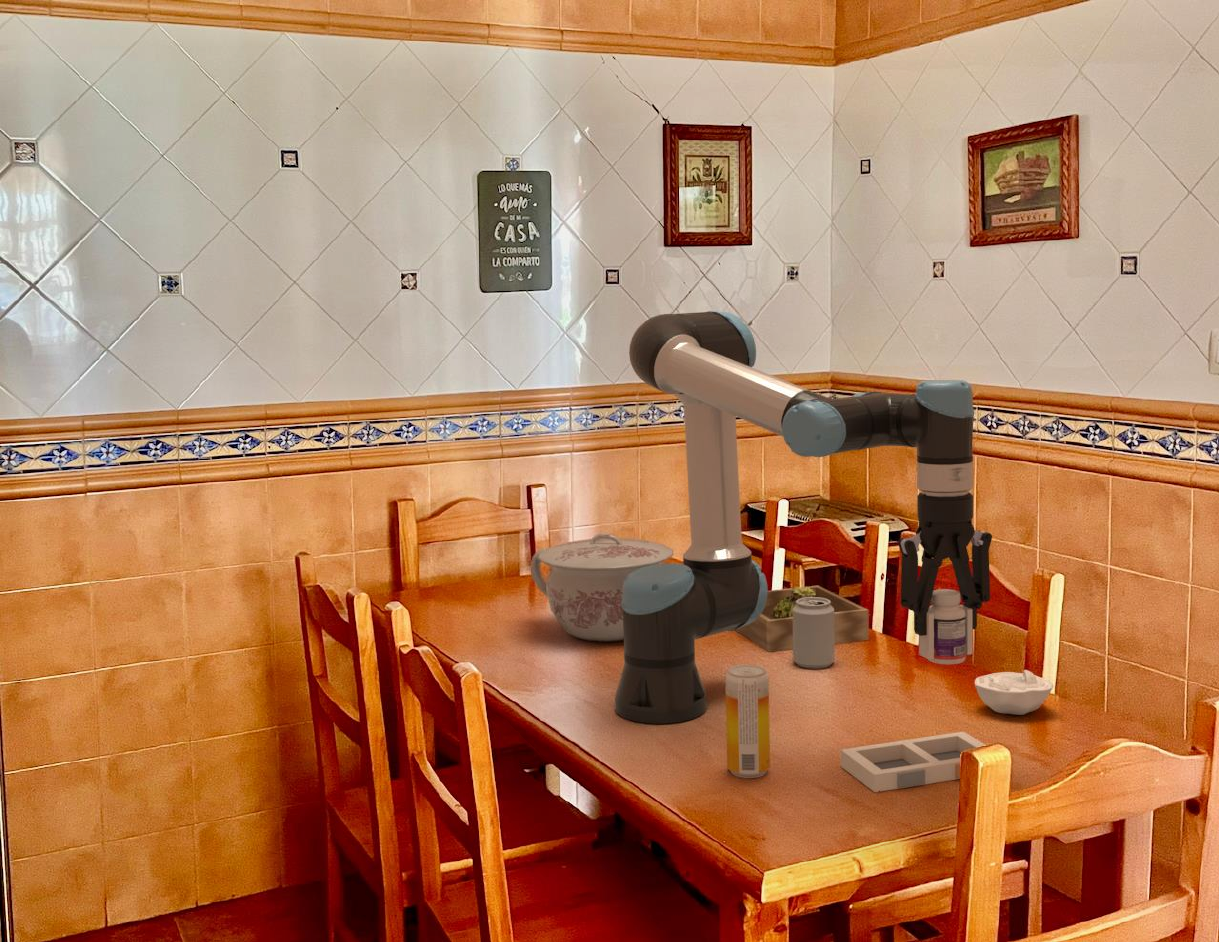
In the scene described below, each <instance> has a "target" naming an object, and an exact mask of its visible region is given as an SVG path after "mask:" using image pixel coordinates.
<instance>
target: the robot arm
mask: <svg viewBox="0 0 1219 942" xmlns="http://www.w3.org/2000/svg"><path fill="white" fill-rule="evenodd" d="M628 351H629V352H628V354H629V361H630V365H631V368H632V369H633V371H634V372H635V374H636V376H637V377H638V378H639V379H640V380H642V381H643V382H644V383H645V384H646V385H648V386H651V387H652V388H654V389H657V390H659V391H661V392H664V393H665V394H668V395H673V396H675V398H676V399H678V400H679V401H680V402H681V403H682V405H683V411H684V412H683V414H684V415H683V416H684V432H685V434H684V436H685V451H686V452H685V453H686V466H687V467H686V469H687V487H688V505H689V506H688V507H689V524H690V545H689V547H688V548H687V550H685V552H683V554H682V561H683V563H678V562H676V563H675V562H668V563H667V562H662V563H661V565H650V566H646V567H643V568H640V569H638V570H635V571H634V572H632V573H631V574H629V575H628V576H627V577H626V579H625V580H624V583H623V597H622V602H621V604H622V608H623V630H624V640H623V657H624V662H623V663H624V664H623V668H622V672H621V675H620V677H619V678H620V679H619V681H618V684H617V689H616V692H615V697H614V704H615V705H614V707H615V708H614V709H615V712H616V714H617V715H618V716H620V717H622V718H624V719H627V720H629V721H633V722H637V723H643V724H644V723H645V724H675V723H680V722H686V721H690V720H692V719H696V718H699V716H701V715H703V714H704V713H705V712H706V711H707V710H708V709H707V706H708V705H707V701H708V700H707V693H706V690H705V687H704V684H703V682H702V678H701V676H700V674H699V670H698V667H697V664H696V653H695V648H696V647H695V641H696V640H699V639H702V638H703V639H704V638H706V637H710V636H713V635H714V636H715V635H717V634H721V633H725V632H732V631H736V630H737V629H739V628H741V627H743V626H745V625H748V624H750V623H752V622H753V621H755V620H756V619H757V618H758V617H759V616H760V614H761V613H762V611H763V609H764V607H765V604H766V600H767V591H768V582H767V578H766V575H765V573H764V572H762V571H761V570H762V568H761V567H760V565H759V563H757V562H756V561H755V560H753V559H752V551H751V550H750V549H749V548H748V547H747V546H746V545H745V544H744V543H743V539H742V523H741V522H742V519H741V499H740V482H739V481H740V479H739V477H740V476H739V458H738V440H737V439H738V438H737V419H736V418H739V419H741V420H743V421H745V422H748V423H750V424H753V425H754V426H757V427H760V428H761V429H764V430H766V431H768V432H770V433H773V434H775V435H778V436H780V437H783V440H784V442H785V444H786V445H787V446H788V447H789V449H790V450H791V452H792V453H794V454H795V455H797V456H799V457H804V458H809V457H810V458H811V457H814V458H815V457H816V458H823V457H827V456H830V455H834V454H840V453H846V452H853V451H860V450H865V449H873V448H878V447H885V446H886V447H887V446H889V447H892V446H893V447H908V448H916V459H917V460H916V463H917V464H916V473H917V474H916V488H917V489H918V490H919V491H920V492H919V493H918V494H917V496H916V497H917V498H916V499H917V503H916V507H917V513H916V514H917V520H918V527H917V530H916V532H915V534H913V535H912V536H910V537H908V538H904V537H900V538H899V539H898V541H897V544H898V547H899V550H900V551H899V552H900V554H901V567H900V568H901V571H900V572H901V573H900V581H901V582H900V605H901V607H903V608H905V609H908V610H910V611H912V612H913V631H914V633H915V634H916V635H918V655H919V656H921V657H922V658H925V659H927V660H928V659H929V660H931V659H934V614H933V613H931V612H929V611H928V610H929V607H930V606H931V598H932V594H933V591H934V589H935V585H936V581H937V577H938V574H939V569H940V567H942V565H943V560H946V559H949V561H951V564H952V568H953V571H954V575H955V579H956V583H957V587H958V591H959V592H960V599H961V602H962V604H959V606H960V607H962V608H963V609H964V610H965V614H966V656H969V655H973V630H977V626H978V610H980V609H981V608H982V606H983V603H987V602H989V601H990V600H991V582H990V581H991V579H990V577H991V576H990V552H989V551H990V547H991V543H992V539H993V535H992V534H991V533H990V532H986V531H983V530H981V529H980V530H976V529H975V527H974V525H973V522H972V520H973V518H974V495H973V494H972V493H971V492H970V491H971V490H972V489H973V488H974V461H973V460H974V455H973V446H974V445H973V437H974V432H973V431H974V417H975V409H974V401H973V400H974V399H973V389H972V385H971V383H970V382H968V381H966V380H960V379H933V380H932V379H931V380H922V381H920V382H919V383H918V384H917V386H916V392H915V393H911V394H909V393H893V392H882V391H870V392H869V391H867V392H858V393H854V394H853V395H852V396H849V397H848V396H847V397H838V398H831V397H827V396H825V395H822V394H819V393H816V392H814V391H811V390H809V389H807V388H804V387H802V386H800V385H798V384H795V383H792V382H790V381H787V380H785V379H783V378H779V377H777V376H775V375H772V374H769V373H767V372H764V371H762V370H760V369H757V368H754V366H755V364H756V360H757V359H756V357H757V347H756V341H755V338H754V335H753V333H752V331H751V329H750V327H749V326H748V325H747V324H746V323H744V321H743V320H742V318H740V317H739V316H737V315H736V314H734V313H730V312H725V311H712V310H708V311H703V312H701V311H700V312H683V313H663V314H658V315H655V316H653V317H650V318H649V319H647V320H645V321H644V322H643V323H641V324H640V325H639V327H637V329H636V330H635V331H634V333H633V335H632V337H631V340H630V343H629V350H628ZM970 542H971V544H972V545H971V566H972V567H971V566H970V564H969V563H970V557H969V552H968V548H967V547H968V546H969V544H970ZM920 545H921V547H922V549H923V551H922V555H921V563H922V564H921V567H920V571H919V554H918V552H920ZM971 569H972V570H971ZM929 660H928V661H929Z"/></svg>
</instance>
